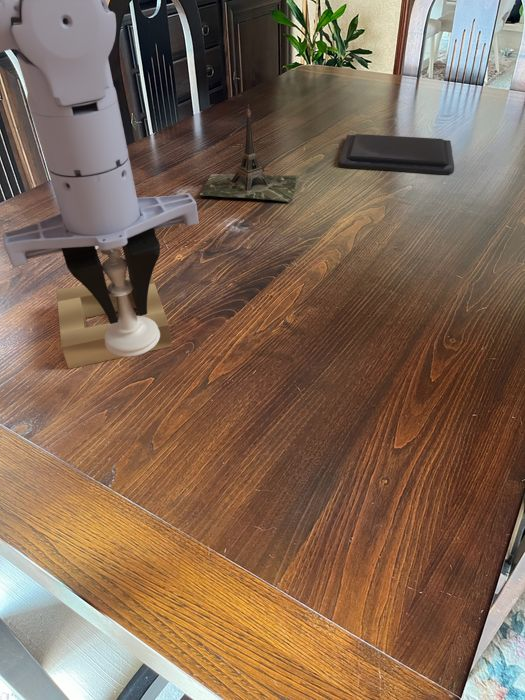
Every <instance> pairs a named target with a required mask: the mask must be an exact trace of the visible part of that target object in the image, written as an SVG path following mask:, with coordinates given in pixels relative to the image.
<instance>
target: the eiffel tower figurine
mask: <svg viewBox="0 0 525 700" xmlns="http://www.w3.org/2000/svg"><path fill="white" fill-rule="evenodd" d="M249 107H250V106H249V105H247V109H246V111H245V115H246V127H245V129H246V130H245V133H246V134H245V146H244V152H243V158H242V161H241V163H240V165H239V166H238V167H237V168H238V170H237V171H236V173H211V174H210V175H209V178H208V179H207V181H206V183H205V185H204V186H203V188H202V190H201V192H200V193H199V196H202V197H203V196H205V197H208V196H209V197H218V198H219V197H220V198H237V199H238V198H241V199H256V200H268V201H278V202H287V203H291V202H292V201H293V196H294V192H295V186H296V181H297V177H298V175H297V174H295V175H294V174H293V175H290V174H289V175H271V174H265V173H264V171H263V167H262V166H261V165H260V164H259V161H258V159H257V153H256V151H255V146H254V139H253V129H252V120H251V119H252V118H251V115H252V111H251V110H250V108H249Z"/></svg>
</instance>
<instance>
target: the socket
mask: <svg viewBox="0 0 525 700" xmlns="http://www.w3.org/2000/svg"><path fill="white" fill-rule="evenodd" d="M125 280H128V281H130V279H129V276H126V278H125ZM105 281H106V285H107V289H108V286H109V284H110V283H112V282H111V281H110V279H107V280H105ZM55 292H56V302H57V304H56V305H57V314H58V324H59V325H58V326H59V336H60V347H61V351H62V354H63V357H64V360H65V363H66V366H67V369H68V370H70V369H75V368H79V367H84V366H89V365H94V364H98V363H102V362H107V361H111V360H116V359H121V358H125V357H124V356H118V355H115V354H113V353H111V352H110V351H109V350H108V349H107V348H106V345H105V333H106V330H107V329H108V328H109V326H110V325H111V324H110V322H107V323H101V324H98V325H93V326H92V325H91V326H88V324H87V319H88V318H93V317H98V316H99V317H100V316H103V315H106V313H105V311H104V310H103V308H102V307H101V305H100V304H99V302H98V301H97V300H96V298H95V297H94V296H93V295H92V293H91V292H90V291H89V290H88V289H87V288H86V287H85V286H84V285H83V284H80V285H75V286H69V287H65V288H59V289H56V290H55ZM109 296H110V299H111V301H112V304H113V307H114V309H115V312H116V313H118V306H117V298H116V297H115V296H112V295H110V294H109ZM128 296H129V298H130V301H131V304H132V306H133V309H134V310H135V309H136V306H135V304H134V300H133V297H132V292H130V293H129V294H128ZM143 317H147V318H150V319H151V320H153V321H154V322H155V323H156V324H157V326H158V329H159V331H160V338H159V341H158V343H157V344H156V345H155V346H154V347H153V348H152V349H151V350H149V351H147V352H148V353H149V352H153V351H158V350H162V349H167V348H172V347H173V342H172V335H171V330H170V324H169V321H168V318H167V315H166V312H165V309H164V306H163V303H162V300H161V298H160V294H159V292H158V289H157V287H156V282H155V280H154V277H153V275H152V276H151V279H150V284H149V289H148V297H147V314H146V315H143ZM147 352H146V353H147Z"/></svg>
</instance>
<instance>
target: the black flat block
mask: <svg viewBox="0 0 525 700" xmlns="http://www.w3.org/2000/svg"><path fill="white" fill-rule="evenodd" d="M451 142H452V141H451V140H449V139H446V140H445V139H443V138H436V137H435V138H434V137H415V136H402V135H401V136H400V135H381V134H364V133H363V134H362V133H356V134H347V135H346V137H345V139H344V141H343V144H342V147H341V150H340V153H339V156H338V160H337V166H338V167H339V168H342V169H343V168H344V169H353V170H370V171H371V170H372V171H387V172H404V173H415V174H416V173H417V174H428V175H429V174H432V175H448V176H449V175H451V174H453V173H454V172H455V162H454V157H453V149H452V148H453V147H452V143H451Z"/></svg>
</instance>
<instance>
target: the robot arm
mask: <svg viewBox="0 0 525 700" xmlns="http://www.w3.org/2000/svg"><path fill="white" fill-rule="evenodd" d="M116 17H117V16H116V13H115V12H114V11H111V10H110V9H109V6H108V3H107V0H0V53H3V52H6V51H10V50H16V51H18V52H19V53H17V54H16V58H17V61H18V62H17V63H18V65H19V68H20V71H21V75H22V78H23V82H24V85H25V88H26V93H27V97H26V101H27V105H28V108H29V112H30V115H31V118H32V121H33V124H34V128H35V132H36V135H37V138H38V141H39V146H40V148H41V151H42V155H43V158H44V162H45V165H46V169H47V172H48V176H49V179H50V182H51V185H52V188H53V193H54V195H55V199H56V202H57V205H58V209H59V212H60V213H58V214H55V215H51V216H50V217H48V218H45V219H42V220H40V221H37V222H34V223H32V224H29V225H27V226H26V225H25V226H24V227H20V228H17V229H13V230H10V231H5V232H2V239H3V246H4V248H5V250H6V253H7V256H8V258H9V261H10V264H11V267H12V268H16V267H20V266H24V265H27V264H28V260H33V259H36V258H40V257H44V256H49V255H54V254H59V253H61V252H62V255H63V258H64V261H65V265H66V268H67V270H68V271H69V272H70V274H71V275H72V276H73V277H74V278H75V279H76V280H77V281H78V282H79V283H81V285H84V286H85V287H86V288H87V289H88V290H89V291H90V292H91V293H92V295H93V296H94V297H95V298H96V300H97V301H98V302H99V304H100V305H101V307H102V308H103V310H104V311H105V313H106V314H105V315H106V317H107V320H108V323H110V324H113V323H117V322H118V320H119V318H118V314H117V312H115V309H114V307H113V304H112V301H111V299H110V296H109V293H108V289H107V285H106V281H107V280H106V277H105V272H104V271H103V268H102V262H101V259H100V257H99V254H98V251H97V248H96V247H98V249H99V250H100V251H101V250H110V249H118V248H122V251H123V255H124V259H125V260H126V261H127V271H128V277H129V279H130V282H131V283H132V285H133V290H132V291H131V292H132V297H133V300H134V304H135V306H136V308H135V309H136V311H137V313H138V316H143V315H146V314H147V297H148V289H149V284H150V279H151V276H152V277H153V272H154V269H155V268H156V264H157V263H158V260H159V258H160V253H161V245H160V241H159V239H158V237H157V236H156V231H158V230H160V229H161V230H162V229H166V228H170V227H174V226H178V225H184V226H185V227H193V226H196V225H199V223H200V222H199V213H198V205H197V202H196V200H195V198H194V197H193V196H192V195H191V194H190V193H189V192H186V193H180V194H173V195H163V196H160V195H159V196H145V197H137V191H136V186H135V181H134V175H133V171H132V166H131V161H130V155H129V149H128V145H127V139H126V135H125V130H124V126H123V120H122V115H121V110H120V104H119V99H118V94H117V90H116V87H115V86H114V81H113V77H112V71H111V67H110V61H109V56H110V54H111V52H112V50H113V47H114V45H115V41H116V34H117V18H116Z"/></svg>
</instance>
